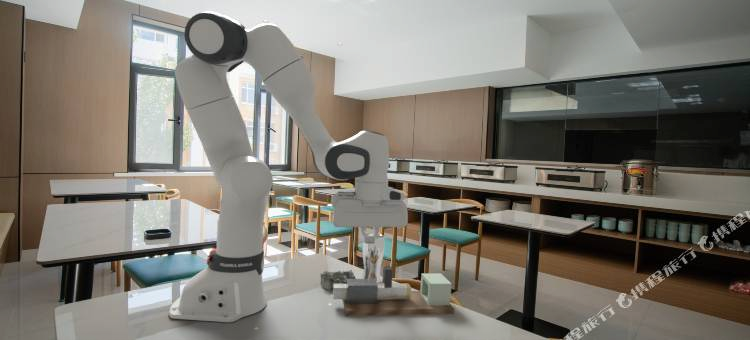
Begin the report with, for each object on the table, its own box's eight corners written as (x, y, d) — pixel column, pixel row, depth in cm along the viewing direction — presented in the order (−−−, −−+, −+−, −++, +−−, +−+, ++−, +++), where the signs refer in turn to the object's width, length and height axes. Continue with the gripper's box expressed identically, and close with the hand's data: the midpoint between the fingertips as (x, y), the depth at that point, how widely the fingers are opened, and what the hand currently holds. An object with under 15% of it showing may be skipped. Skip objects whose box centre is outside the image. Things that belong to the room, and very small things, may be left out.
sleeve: (346, 304, 96) (347, 285, 95) (345, 296, 100) (346, 278, 100) (376, 303, 97) (377, 285, 97) (373, 296, 102) (374, 278, 102)
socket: (428, 311, 98) (430, 283, 98) (419, 298, 106) (421, 273, 105) (449, 310, 99) (451, 283, 99) (439, 298, 107) (441, 273, 106)
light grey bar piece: (333, 299, 96) (335, 269, 95) (332, 294, 99) (334, 265, 98) (410, 298, 99) (412, 269, 99) (407, 294, 102) (409, 265, 102)
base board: (345, 316, 92) (346, 310, 92) (341, 296, 104) (342, 291, 104) (454, 313, 97) (454, 308, 97) (438, 295, 109) (439, 290, 109)
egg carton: (321, 290, 108) (322, 277, 108) (319, 281, 115) (319, 268, 115) (356, 289, 111) (357, 276, 110) (352, 280, 118) (352, 268, 118)
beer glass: (379, 286, 113) (382, 239, 113) (358, 283, 115) (361, 236, 114) (383, 279, 120) (386, 234, 119) (363, 276, 122) (366, 232, 121)
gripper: (332, 192, 92) (330, 246, 93) (410, 194, 96) (408, 245, 97) (331, 189, 99) (329, 240, 99) (404, 191, 102) (402, 239, 103)
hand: (369, 242), depth 98 cm, fingers closed
